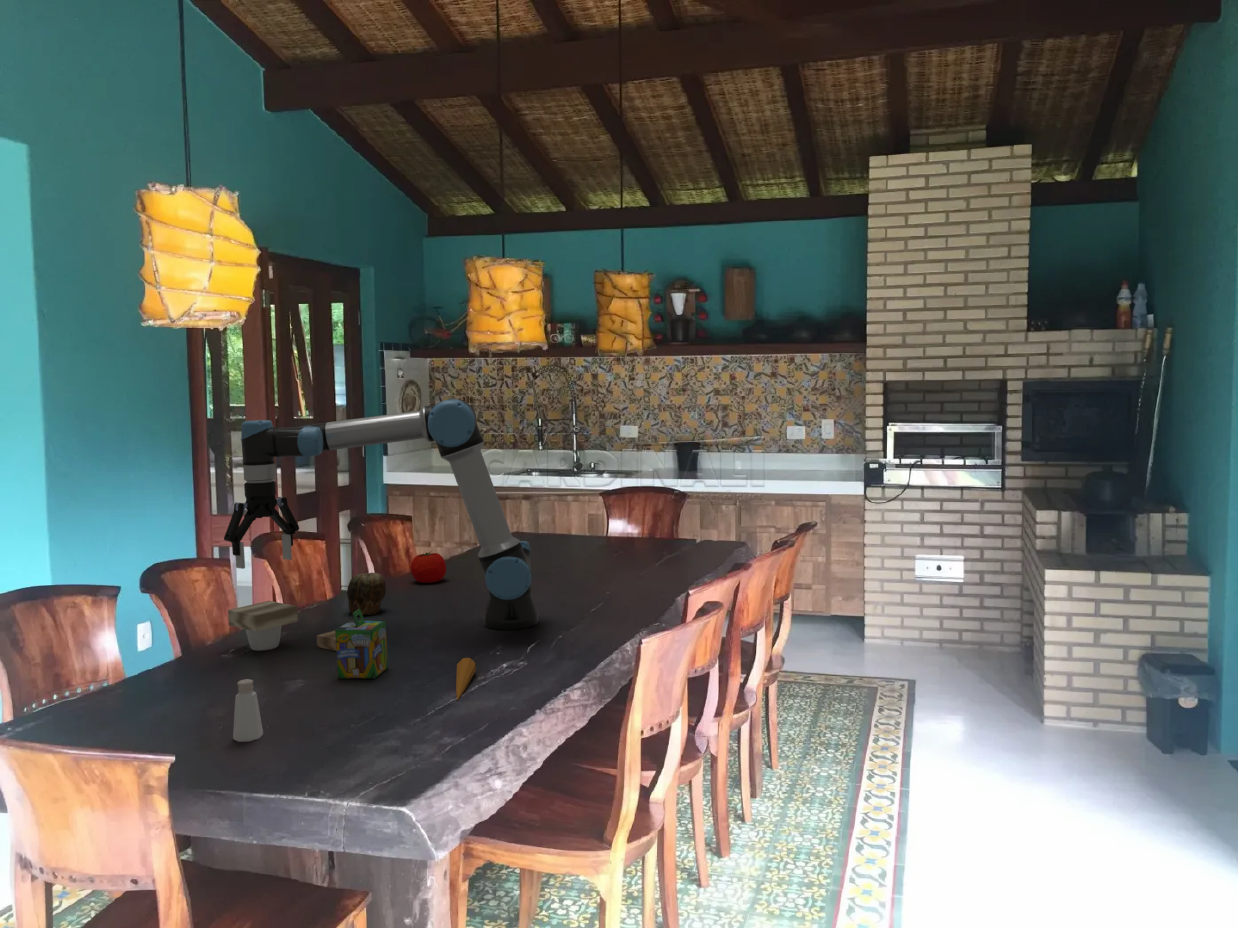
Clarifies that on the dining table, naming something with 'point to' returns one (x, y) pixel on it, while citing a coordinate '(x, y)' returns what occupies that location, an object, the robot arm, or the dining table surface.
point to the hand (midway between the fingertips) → (264, 563)
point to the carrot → (464, 675)
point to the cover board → (262, 616)
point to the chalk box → (361, 648)
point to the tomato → (428, 567)
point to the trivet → (327, 641)
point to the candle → (264, 638)
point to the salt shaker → (246, 713)
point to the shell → (366, 593)
